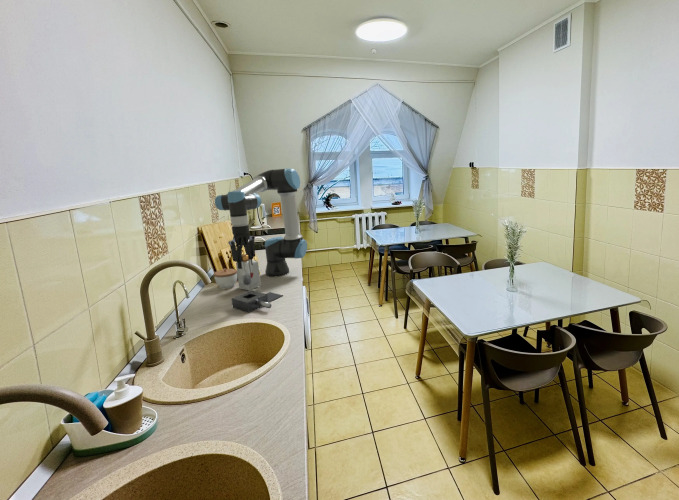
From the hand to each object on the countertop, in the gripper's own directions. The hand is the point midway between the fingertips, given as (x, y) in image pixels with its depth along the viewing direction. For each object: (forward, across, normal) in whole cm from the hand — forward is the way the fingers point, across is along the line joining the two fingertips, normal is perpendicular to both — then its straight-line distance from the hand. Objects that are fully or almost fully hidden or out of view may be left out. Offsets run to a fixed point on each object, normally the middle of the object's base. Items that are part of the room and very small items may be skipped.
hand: (246, 273), depth 154 cm
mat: (+17, -12, 0) cm, 20 cm away
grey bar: (+5, 0, 0) cm, 5 cm away
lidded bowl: (+17, -12, -36) cm, 41 cm away
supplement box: (+17, -18, -23) cm, 34 cm away
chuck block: (+17, 0, +4) cm, 17 cm away
